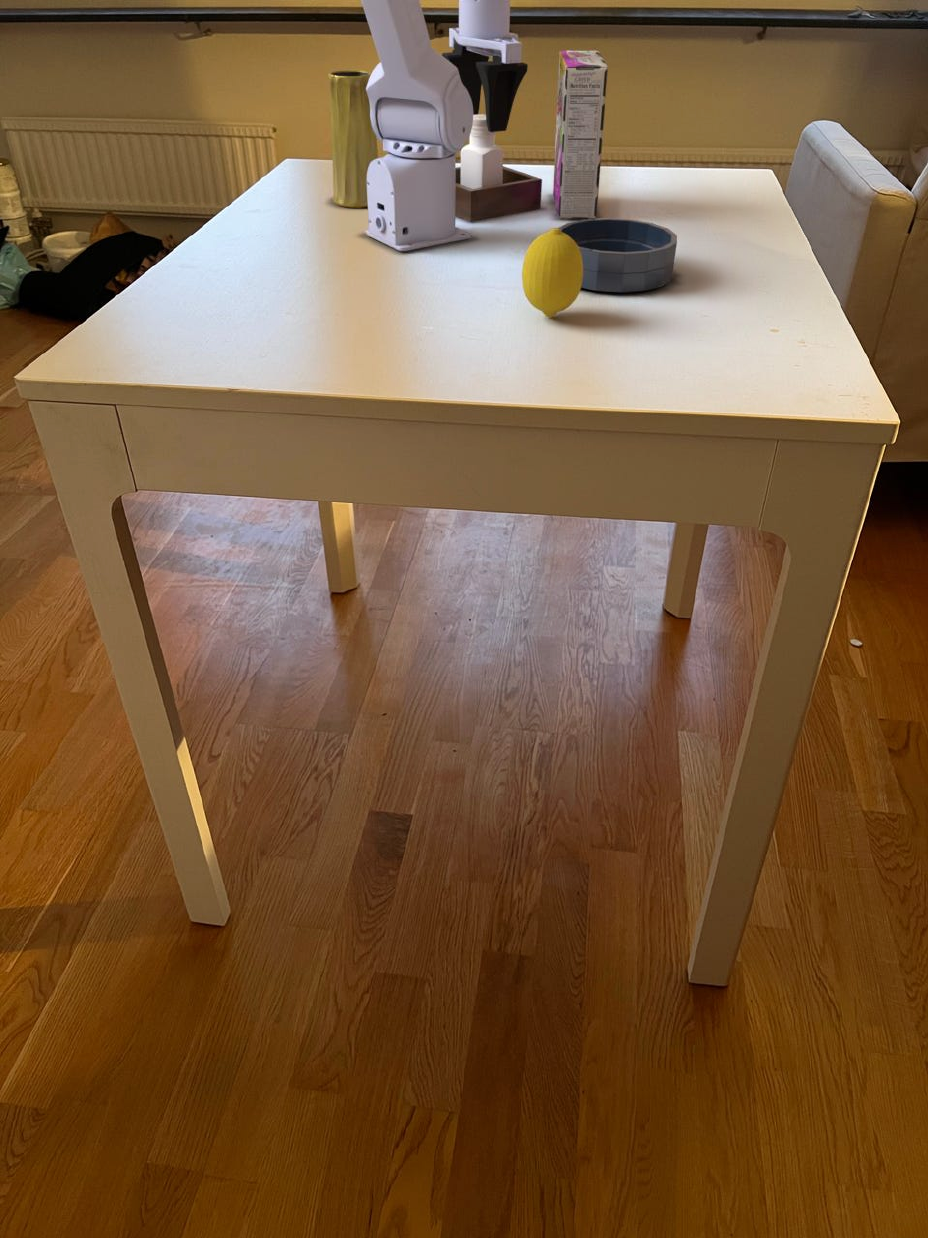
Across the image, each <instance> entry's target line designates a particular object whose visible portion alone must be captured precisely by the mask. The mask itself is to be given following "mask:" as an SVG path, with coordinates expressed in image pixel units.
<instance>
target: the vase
mask: <svg viewBox="0 0 928 1238" xmlns="http://www.w3.org/2000/svg"><path fill="white" fill-rule="evenodd" d="M371 74H372V72H371V71H369V70H364V69H363V70H362V69H339V70H333V71H329V72H328V74H327V75H328V76H327V77H328V78H327V79H328V91H329V110H330V111H329V112H330V132H331V133H330V134H331V159H332V186H333V187H332V188H333V199H332V201H333V202H334V204H335V205H337V206H339V207H343V208H350V209H351V208H352V209H357V208H358V209H361V208H368V201H367V171H368V167H369V165H370V163H371V162H372V161H373V160H375V159H378V158H379V151H378V150H379V149H378V138H377V136H376V134H375V132H374V130H373V127H372V124H371V118H370V102H369V97H368V94H367V91H366V87H367V84H368V81H369V78H370V76H371Z"/></svg>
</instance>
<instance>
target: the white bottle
mask: <svg viewBox="0 0 928 1238" xmlns="http://www.w3.org/2000/svg"><path fill="white" fill-rule="evenodd" d="M496 134H497V132H489V131H488V128H487V122H486V113H485V114H484V113H482V114H480V113H478V115H473V124H472V130H471V133H470V136H469V143H468V144H466V145H464V146H463V147H462V149H461V151H460V167H461V183H460V185H463V186H466V187H468V188H471V189H476V188H482V187H488V186H494V185H500V184H502V175H503V166H504V150H503V148H502V147H501V146H499V145H498V144H495V143H496Z"/></svg>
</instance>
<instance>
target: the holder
mask: <svg viewBox="0 0 928 1238" xmlns="http://www.w3.org/2000/svg"><path fill="white" fill-rule="evenodd" d="M460 183H461V166H457V167H456V176H455V217H457V218H459V219H461V220H464V221H466V222H469V223H475V222H476V223H477V222H480V221H485V220H492V219H496V218H501V217H506V216H507V217H508V216H512V215H516V214H523V213H527V212H532V211H538V210H541V207H542V190H543V179H542V178H540V177H537V176H534V175H531V174H528V173H525V172H522V171H519V170H516V169H512V168H510V167H507V166H504V165H503V175H502V184H500V185H494V186H488V187H482V188H476V189H471V188H468V187H466V186H463V185H460Z"/></svg>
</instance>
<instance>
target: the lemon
mask: <svg viewBox="0 0 928 1238" xmlns="http://www.w3.org/2000/svg"><path fill="white" fill-rule="evenodd" d="M558 228H559V227H553V228H550V230H549V231H547V232H545V233H541V234H540V235H539V236H538V237H536V238H535V239H534V240H533V241H532V242H531V243H530V244H529V247H528V248H527V250H526V253H525V256H524V259H523V262H522V270H521V282H522V287H523V288H522V289H523V292H524V296H525V298H526V299H527V301H528V303H530V305H531V306H532V307H533V308H535V309H536V310H538V311H541V312H542V313H543V315H544V316H545V317H546V318H549V319H551V318H554V317H555V316H556V315H557V314H558V313H559V312H562V311H565V310H567V309H568V308H569V307H571V306H572V304H574V302H575V301H576V300H577V298H578V296H579V295H580V293H581V289H582V288H581V286H582V280H583V261H582V256H581V252H580V249H579V247H578V245H577V244H576V242H575V241H574V240H573V239H572V238H571V237H569V236H568V235H566V234H564V233H562V232H561V231H560V230H559V229H558Z"/></svg>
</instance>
